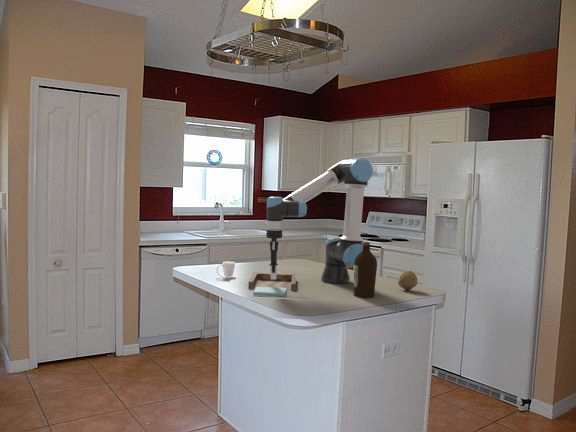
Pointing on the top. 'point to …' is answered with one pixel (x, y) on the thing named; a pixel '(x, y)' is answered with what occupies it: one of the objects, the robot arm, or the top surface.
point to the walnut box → (273, 281)
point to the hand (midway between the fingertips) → (273, 279)
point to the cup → (227, 269)
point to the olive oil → (365, 273)
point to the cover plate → (269, 291)
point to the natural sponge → (407, 280)
